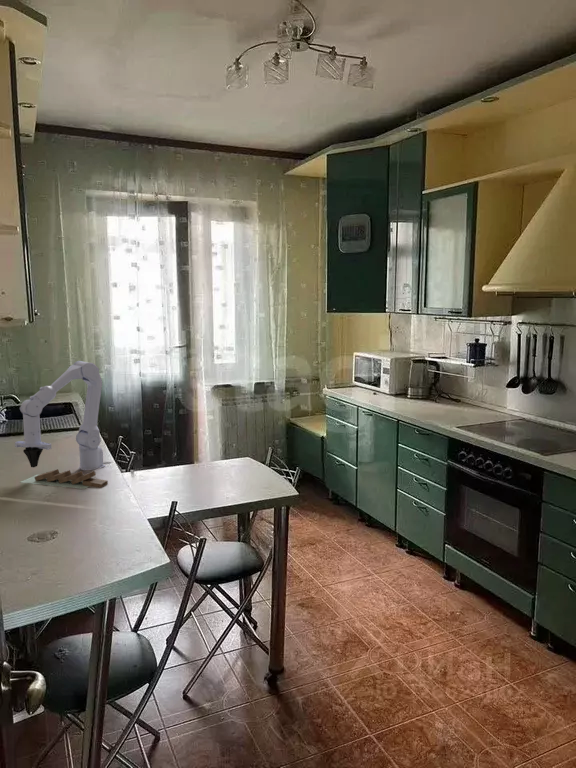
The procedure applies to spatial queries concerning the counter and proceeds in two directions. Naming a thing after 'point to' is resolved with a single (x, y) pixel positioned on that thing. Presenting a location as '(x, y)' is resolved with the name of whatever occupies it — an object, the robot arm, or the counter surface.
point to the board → (55, 483)
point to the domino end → (95, 482)
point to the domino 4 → (83, 477)
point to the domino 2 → (59, 476)
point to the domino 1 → (47, 475)
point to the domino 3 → (71, 477)
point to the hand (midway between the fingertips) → (34, 466)
